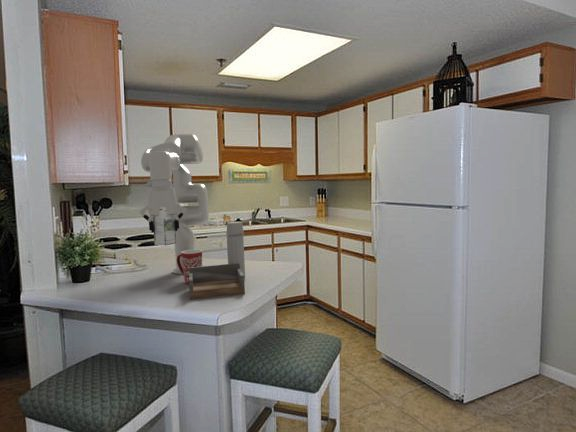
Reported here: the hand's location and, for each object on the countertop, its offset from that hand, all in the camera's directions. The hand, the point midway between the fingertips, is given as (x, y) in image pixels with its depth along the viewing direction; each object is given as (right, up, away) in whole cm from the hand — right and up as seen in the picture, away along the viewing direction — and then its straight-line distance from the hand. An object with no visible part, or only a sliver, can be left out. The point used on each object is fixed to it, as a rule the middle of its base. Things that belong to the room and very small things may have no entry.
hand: (164, 231), depth 148 cm
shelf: (+19, -24, +4) cm, 31 cm away
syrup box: (0, -5, +1) cm, 5 cm away
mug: (+4, -23, +21) cm, 32 cm away
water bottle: (+25, -22, +22) cm, 40 cm away
